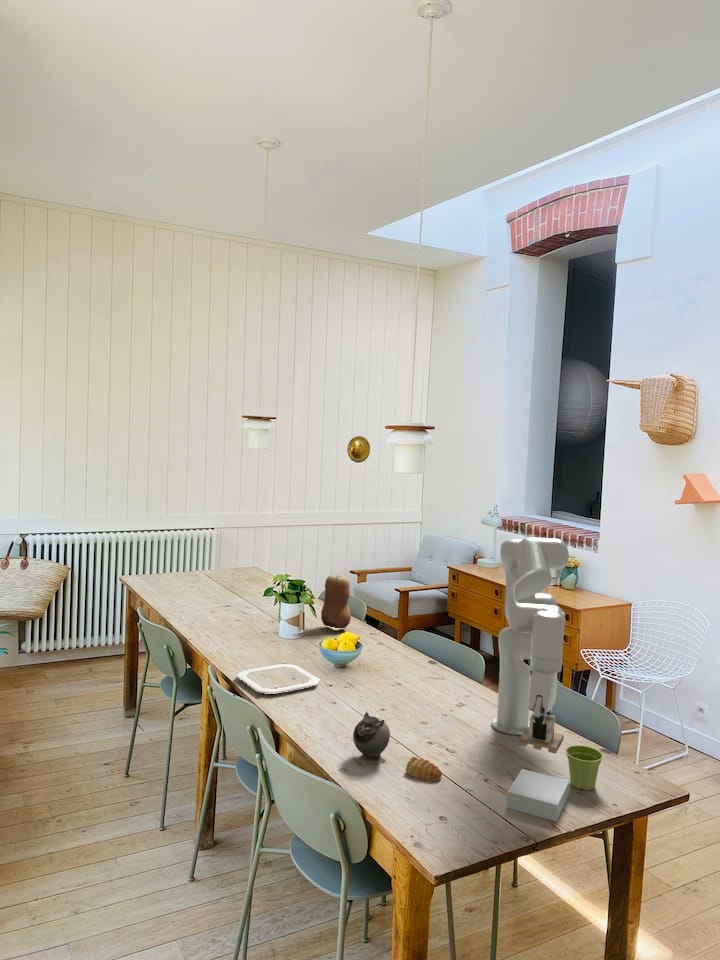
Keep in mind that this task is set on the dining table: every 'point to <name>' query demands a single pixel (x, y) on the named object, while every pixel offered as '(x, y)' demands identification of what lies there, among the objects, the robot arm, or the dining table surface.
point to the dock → (538, 794)
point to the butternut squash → (336, 602)
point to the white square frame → (312, 682)
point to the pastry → (423, 769)
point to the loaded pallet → (541, 744)
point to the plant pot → (583, 766)
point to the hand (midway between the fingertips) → (541, 734)
